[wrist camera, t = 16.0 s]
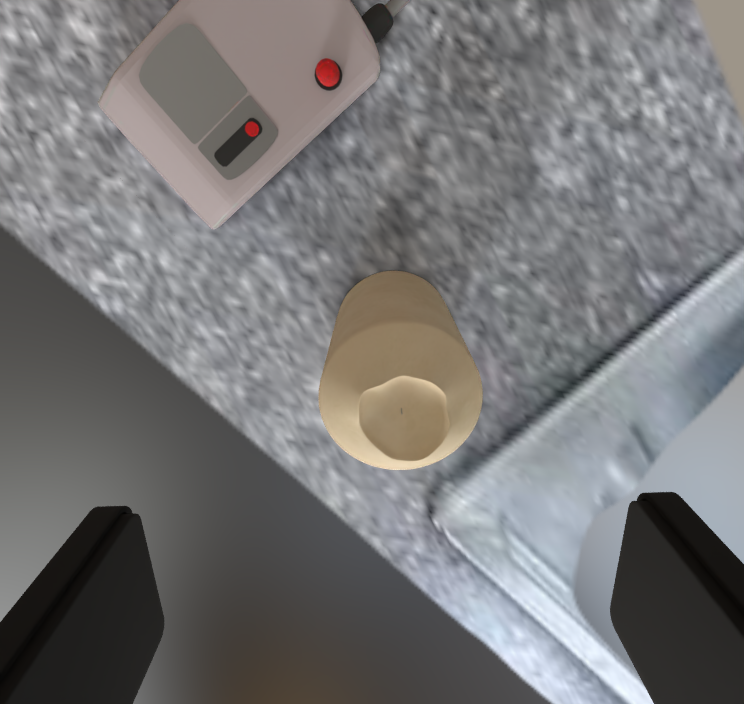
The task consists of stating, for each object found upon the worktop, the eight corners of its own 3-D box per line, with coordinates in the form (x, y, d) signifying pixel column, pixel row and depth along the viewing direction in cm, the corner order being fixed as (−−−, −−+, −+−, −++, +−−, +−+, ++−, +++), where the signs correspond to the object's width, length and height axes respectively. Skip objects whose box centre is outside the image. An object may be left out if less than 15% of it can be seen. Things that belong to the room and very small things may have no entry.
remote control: (79, 135, 22) (36, 131, 19) (352, -163, 18) (347, -223, 15) (191, 253, 24) (166, 265, 21) (460, 3, 20) (474, -24, 17)
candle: (314, 323, 25) (276, 420, 15) (394, 244, 23) (406, 298, 14) (391, 395, 26) (399, 524, 17) (471, 324, 25) (529, 422, 15)
